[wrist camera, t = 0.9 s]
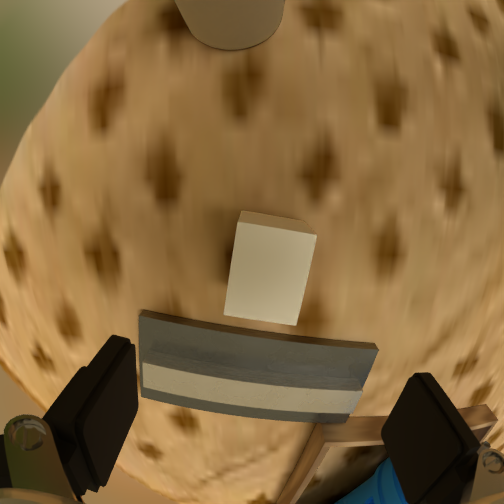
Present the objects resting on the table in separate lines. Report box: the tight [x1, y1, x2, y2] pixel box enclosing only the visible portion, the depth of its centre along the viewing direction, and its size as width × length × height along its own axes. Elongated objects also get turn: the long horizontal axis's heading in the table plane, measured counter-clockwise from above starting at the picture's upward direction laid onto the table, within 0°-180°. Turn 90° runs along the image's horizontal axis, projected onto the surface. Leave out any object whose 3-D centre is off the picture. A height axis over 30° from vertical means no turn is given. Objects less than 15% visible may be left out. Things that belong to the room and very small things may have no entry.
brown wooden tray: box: [276, 404, 498, 504], centre depth 32 cm, size 28×32×4 cm
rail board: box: [139, 310, 379, 423], centre depth 26 cm, size 22×10×3 cm, turn 81°
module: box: [224, 210, 317, 326], centre depth 22 cm, size 5×6×5 cm
